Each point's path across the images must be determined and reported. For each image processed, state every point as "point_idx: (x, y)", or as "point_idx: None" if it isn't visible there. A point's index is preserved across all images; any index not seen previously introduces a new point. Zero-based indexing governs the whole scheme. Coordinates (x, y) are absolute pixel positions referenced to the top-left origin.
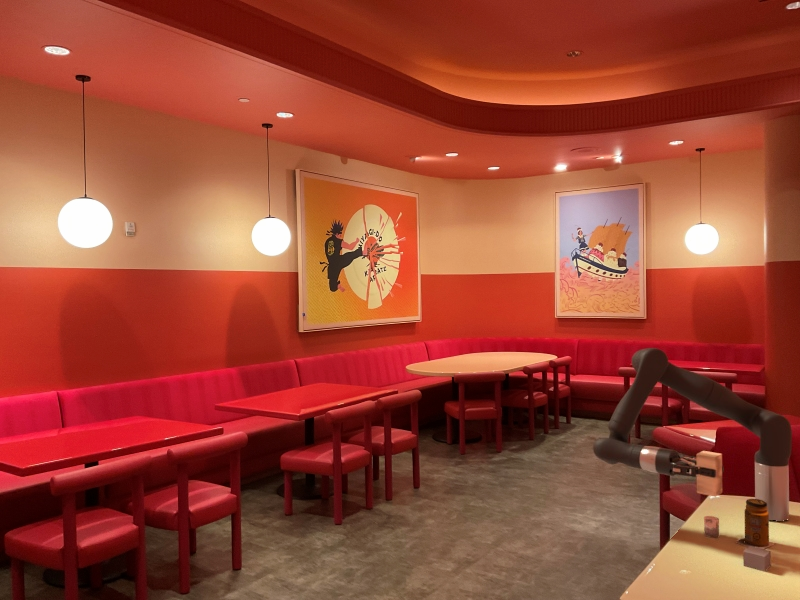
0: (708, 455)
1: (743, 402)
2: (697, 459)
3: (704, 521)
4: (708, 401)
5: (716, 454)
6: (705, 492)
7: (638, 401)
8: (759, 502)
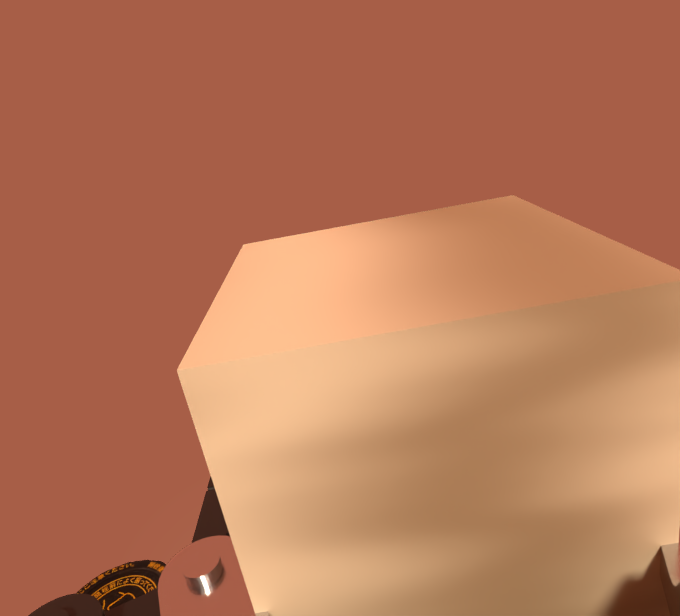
0: (515, 223)
1: None
2: (670, 400)
3: None
4: None
5: (340, 236)
6: None
7: None
8: (121, 595)
